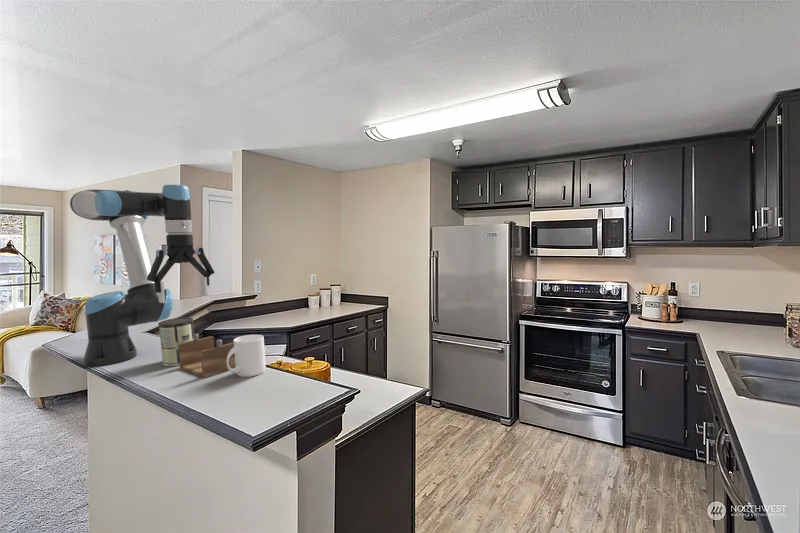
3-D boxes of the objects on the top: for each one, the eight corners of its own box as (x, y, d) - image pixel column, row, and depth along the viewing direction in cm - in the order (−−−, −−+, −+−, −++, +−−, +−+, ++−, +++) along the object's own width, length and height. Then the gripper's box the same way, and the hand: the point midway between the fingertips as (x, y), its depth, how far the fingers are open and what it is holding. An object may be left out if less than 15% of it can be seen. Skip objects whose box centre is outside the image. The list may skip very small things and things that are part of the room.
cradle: (180, 368, 131) (177, 338, 130) (213, 358, 139) (210, 330, 138) (205, 377, 121) (202, 345, 120) (239, 367, 130) (236, 336, 129)
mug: (219, 378, 120) (216, 342, 119) (254, 366, 130) (252, 333, 129) (236, 383, 115) (233, 346, 114) (271, 370, 125) (269, 336, 124)
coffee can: (175, 356, 144) (171, 317, 142) (202, 356, 143) (199, 317, 141) (155, 366, 134) (150, 324, 132) (184, 366, 132) (180, 324, 131)
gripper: (141, 235, 118) (147, 307, 120) (222, 232, 138) (226, 294, 140) (130, 235, 123) (137, 304, 125) (210, 232, 142) (215, 292, 145)
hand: (184, 299), depth 133 cm, fingers open, 13 cm apart
